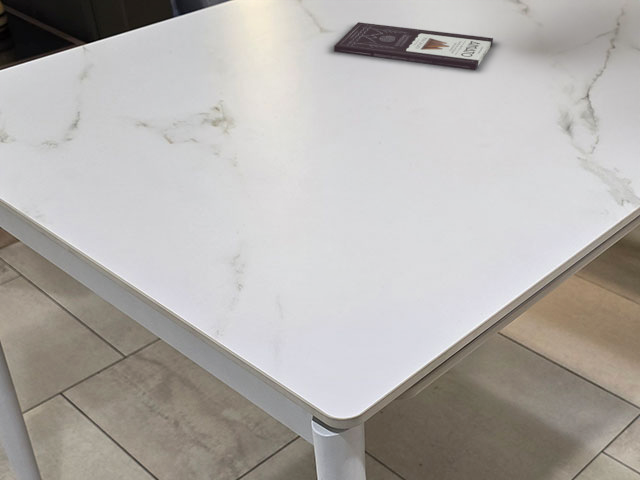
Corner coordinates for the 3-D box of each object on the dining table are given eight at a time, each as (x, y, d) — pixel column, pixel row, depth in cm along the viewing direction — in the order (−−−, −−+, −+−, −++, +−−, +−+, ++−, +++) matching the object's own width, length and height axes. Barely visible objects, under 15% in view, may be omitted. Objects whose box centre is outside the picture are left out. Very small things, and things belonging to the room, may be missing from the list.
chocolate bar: (358, 22, 114) (493, 38, 108) (358, 29, 115) (492, 45, 108) (334, 45, 108) (476, 64, 101) (334, 53, 109) (475, 71, 102)
